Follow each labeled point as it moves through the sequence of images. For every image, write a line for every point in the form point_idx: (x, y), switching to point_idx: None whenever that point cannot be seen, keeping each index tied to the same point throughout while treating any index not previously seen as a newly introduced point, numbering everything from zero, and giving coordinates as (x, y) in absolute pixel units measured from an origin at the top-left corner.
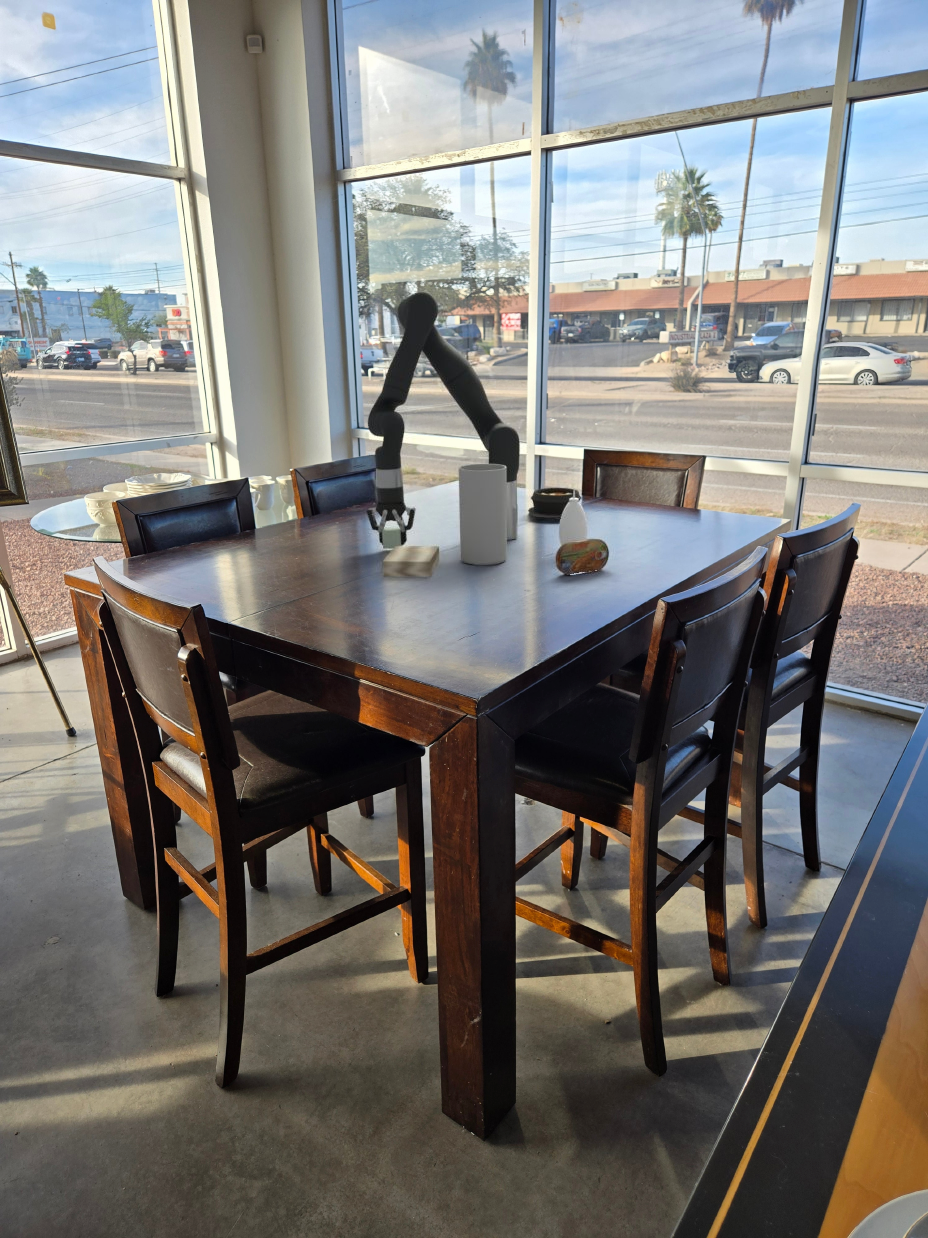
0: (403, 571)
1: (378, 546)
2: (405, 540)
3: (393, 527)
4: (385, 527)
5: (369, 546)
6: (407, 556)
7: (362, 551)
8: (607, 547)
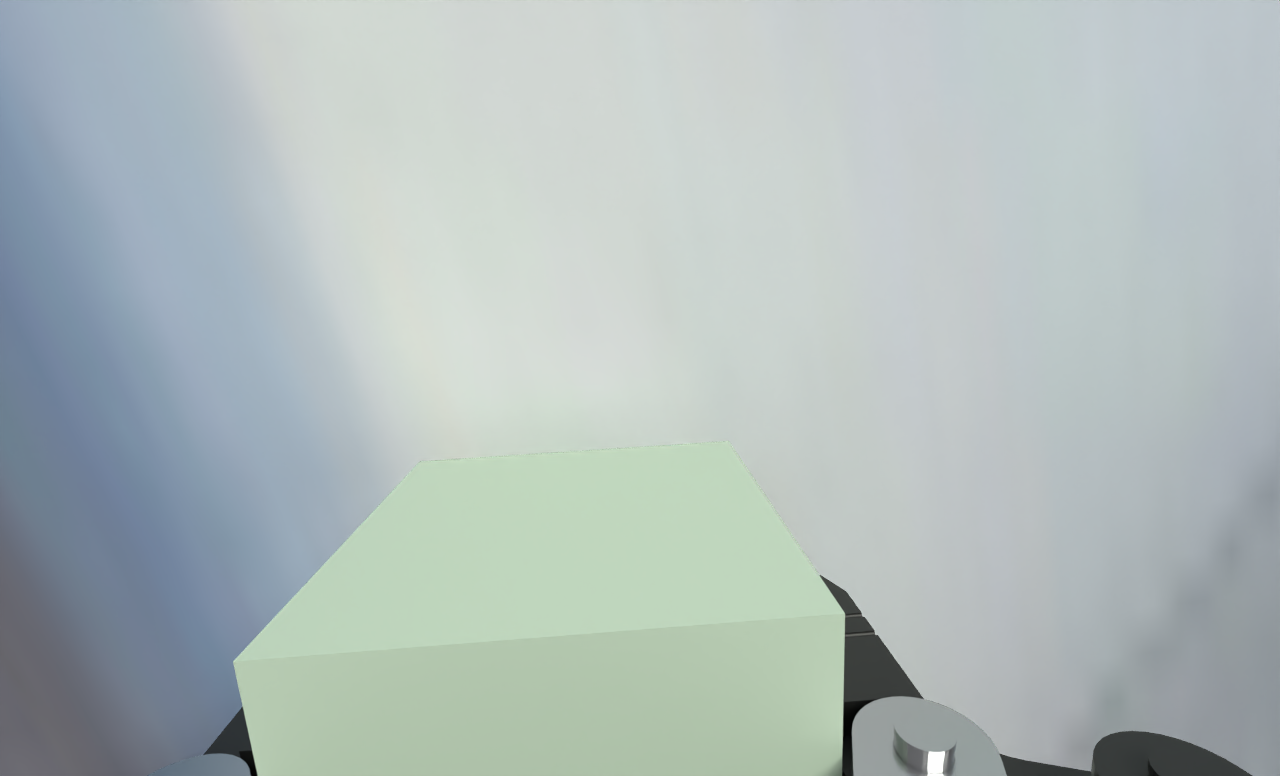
0: None
1: (235, 275)
2: None
3: (532, 668)
4: (244, 687)
5: (72, 287)
6: None
7: (109, 609)
8: None
